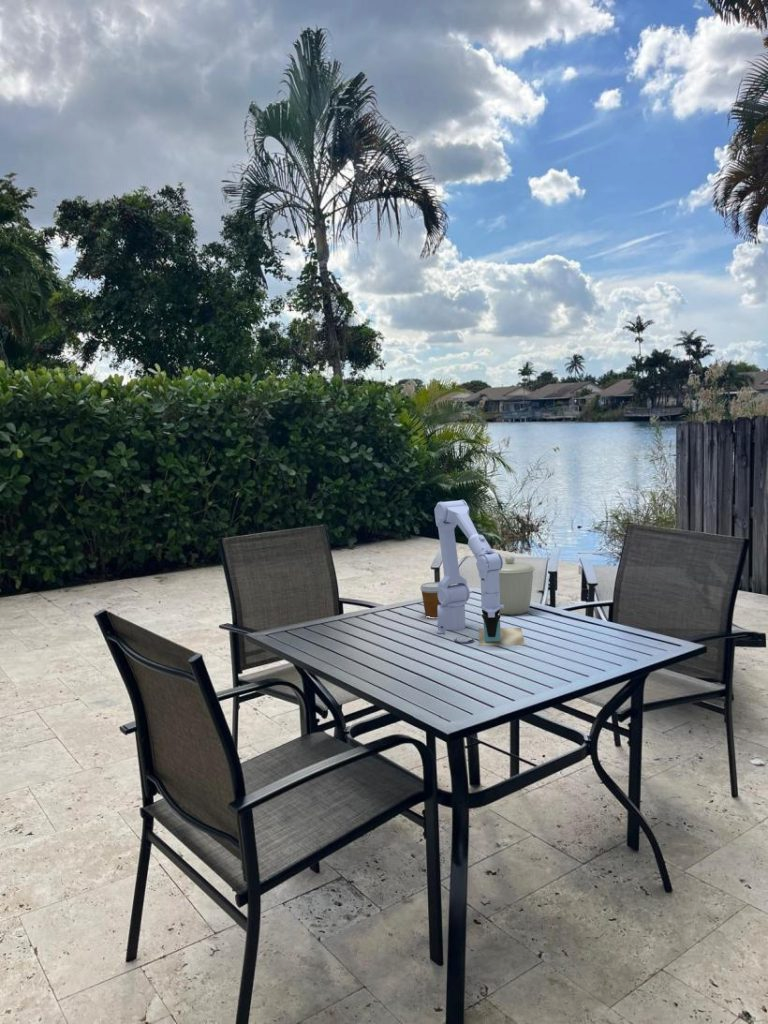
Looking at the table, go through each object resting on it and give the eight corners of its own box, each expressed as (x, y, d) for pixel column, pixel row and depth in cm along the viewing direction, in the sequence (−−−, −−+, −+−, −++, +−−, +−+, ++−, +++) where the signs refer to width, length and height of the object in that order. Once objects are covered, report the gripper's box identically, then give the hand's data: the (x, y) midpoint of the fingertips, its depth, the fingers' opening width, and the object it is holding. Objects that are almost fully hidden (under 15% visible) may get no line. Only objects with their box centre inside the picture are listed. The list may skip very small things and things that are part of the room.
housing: (484, 641, 226) (483, 622, 225) (484, 637, 231) (483, 618, 230) (500, 641, 225) (500, 622, 225) (500, 637, 230) (499, 618, 230)
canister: (522, 620, 256) (520, 561, 254) (477, 614, 267) (475, 557, 265) (544, 609, 270) (543, 553, 268) (500, 604, 281) (499, 550, 279)
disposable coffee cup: (418, 615, 270) (417, 583, 269) (443, 612, 272) (442, 581, 270) (424, 621, 261) (423, 588, 259) (450, 618, 262) (449, 586, 261)
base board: (479, 649, 224) (478, 634, 223) (478, 631, 243) (478, 618, 243) (525, 648, 222) (525, 633, 221) (521, 631, 242) (520, 617, 241)
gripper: (504, 596, 219) (505, 640, 220) (502, 586, 233) (503, 628, 234) (480, 597, 220) (482, 640, 221) (480, 587, 234) (481, 628, 235)
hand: (491, 634), depth 228 cm, fingers closed on housing, 5 cm apart
